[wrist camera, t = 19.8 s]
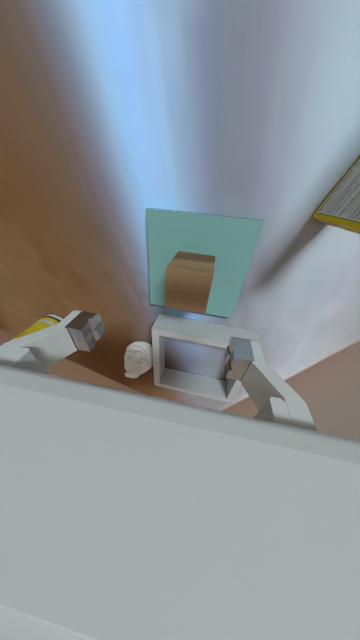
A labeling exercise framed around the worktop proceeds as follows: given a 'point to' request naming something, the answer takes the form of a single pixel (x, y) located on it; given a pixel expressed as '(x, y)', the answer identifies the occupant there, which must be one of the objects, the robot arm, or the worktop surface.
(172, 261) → the walnut block
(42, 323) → the supplement bottle
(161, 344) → the grey bin
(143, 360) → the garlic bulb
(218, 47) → the worktop surface
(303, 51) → the worktop surface
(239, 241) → the teal tile
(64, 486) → the robot arm
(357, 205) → the candy box
